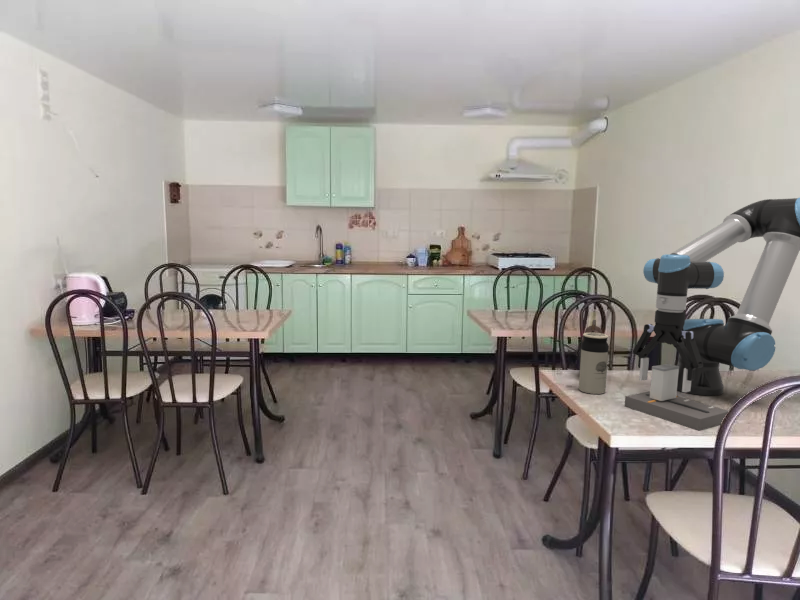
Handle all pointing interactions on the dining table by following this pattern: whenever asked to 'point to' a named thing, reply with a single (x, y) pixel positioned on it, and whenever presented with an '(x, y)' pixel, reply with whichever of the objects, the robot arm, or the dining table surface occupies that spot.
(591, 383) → the travel mug
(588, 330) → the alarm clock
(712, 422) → the console
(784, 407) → the dining table surface
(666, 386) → the fader
